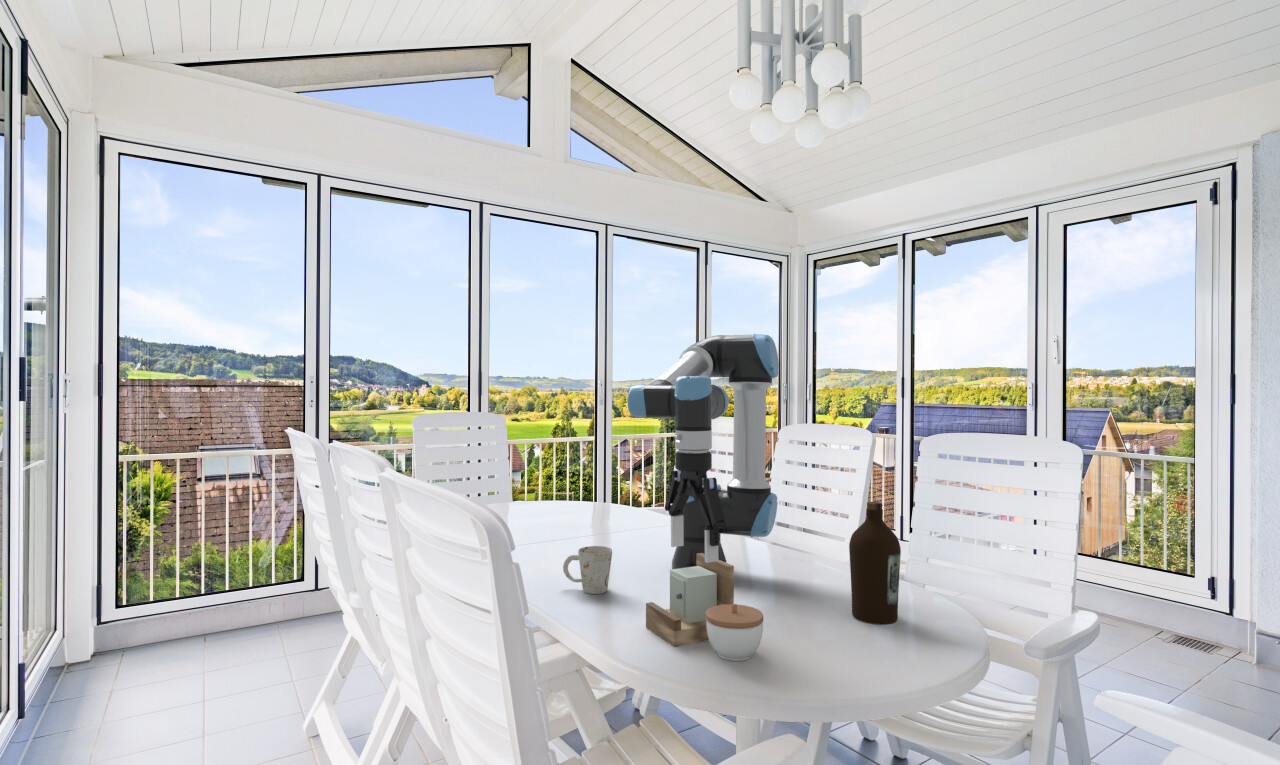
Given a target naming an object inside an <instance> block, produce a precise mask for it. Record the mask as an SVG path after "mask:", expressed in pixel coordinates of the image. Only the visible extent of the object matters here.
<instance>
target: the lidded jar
mask: <svg viewBox="0 0 1280 765" xmlns="http://www.w3.org/2000/svg"><path fill="white" fill-rule="evenodd" d="M763 623H764V614H763V612H762V611H760V609H757V608H755V607H752V606H750V605H749V606H748V605H743V604H737V603H734V604H724V605H717V606H713V607H711V608H709V609H708V610H707V611H706V629H707V635H708V639H709V640H708V642H709V644H710V646H711V647H712V649H713V650H714V651H715V652H716V653H717V656H718V657H719V658H721V659H722V660H725V661H729V662H742V661H746V660H748V659H750V658H751V656H752V655H753V654H754V653H755V652H756V651H757V650H758V648H759V647H760V644H761V641H762V637H763V627H764V624H763Z"/></svg>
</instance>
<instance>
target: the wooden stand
mask: <svg viewBox="0 0 1280 765" xmlns="http://www.w3.org/2000/svg"><path fill="white" fill-rule="evenodd" d="M696 566H700V567H702V568H704V569H707V570H709V571H711V572H713V573H716V574H717V605H724V604H735V596H734V595H735V591H734V590H735V566H734V564H731V563H729V562H727V563H726V562H723V561H721V560H719V559H718V561H716V562H709V563H706V562H705V554H704V553H697V554H696ZM645 628H647V629H648V630H649V631H651V632H653V633H654V634H655V635H656V636H657V637H660V638H661V639H662V640H664V641H665V642H667V643H668V644H669V645H671V646H672V647H674V648H675V647H681V646H686V645H691V644H695V643H696V644H697V643H702V642H706V641H708V642H709V639H708V635H707V629H706V620H705V621H699V622H693V623H688V624H687V623H685V622H684V621H682V620H681V619H679V618H678V617H676V616H674V615H673V614H671V613H670V608H666V609H665V608H663V607H661V606H660V605H659V604H656V603H655V602H653V601H649V602H646V603H645Z"/></svg>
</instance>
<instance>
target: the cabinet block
mask: <svg viewBox="0 0 1280 765" xmlns="http://www.w3.org/2000/svg"><path fill="white" fill-rule="evenodd" d="M713 606H717V574H716V573H713V572H711V571H709V570H707V569H704V568H702V567H700V566H694V567H687V568H679V569H672V568H671V569H669V609H670V613H671V614H673V615H674V616H676V617H678V618H679V619H681V620H682V621H684V622H685V623H687V624H688V623H693V622H699V621H705V620H706V611H707V610H708V609H709V608H711V607H713Z"/></svg>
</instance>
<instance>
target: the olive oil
mask: <svg viewBox="0 0 1280 765" xmlns="http://www.w3.org/2000/svg"><path fill="white" fill-rule="evenodd" d="M866 506H867V507H866V519H865V521H864V522H863V523H861V525H860V526H858V528H857V529H856V530H854V531H853V532H852V535H851V536H850V539H849V543H848V544H849V546H848V549H849V567H850V571H849V572H850V590H851V591H850V592H851V615H852V617H854V619H856V620H857V621H861V622H863V623H866V624H875V625H891V624H894V623H896V622H897V621H898V618H899V617H898V615H899V612H898V611H899V610H898V609H899V592H900V591H899V590H900V589H899V588H900V572H901V571H900V570H901V568H900V566H901V554H902V552H901V545H900V541H899V539H898V536H897V535H896V534H895V533H894V531H893V530H892V529H891V528H890V527H889V526H888V525H887V524H886V522H884V520H883V519H884V518H883V516H884V514H883V513H884V511H883V510H884V509H883V503H882V502H878V501H868V502H867V503H866Z"/></svg>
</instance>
